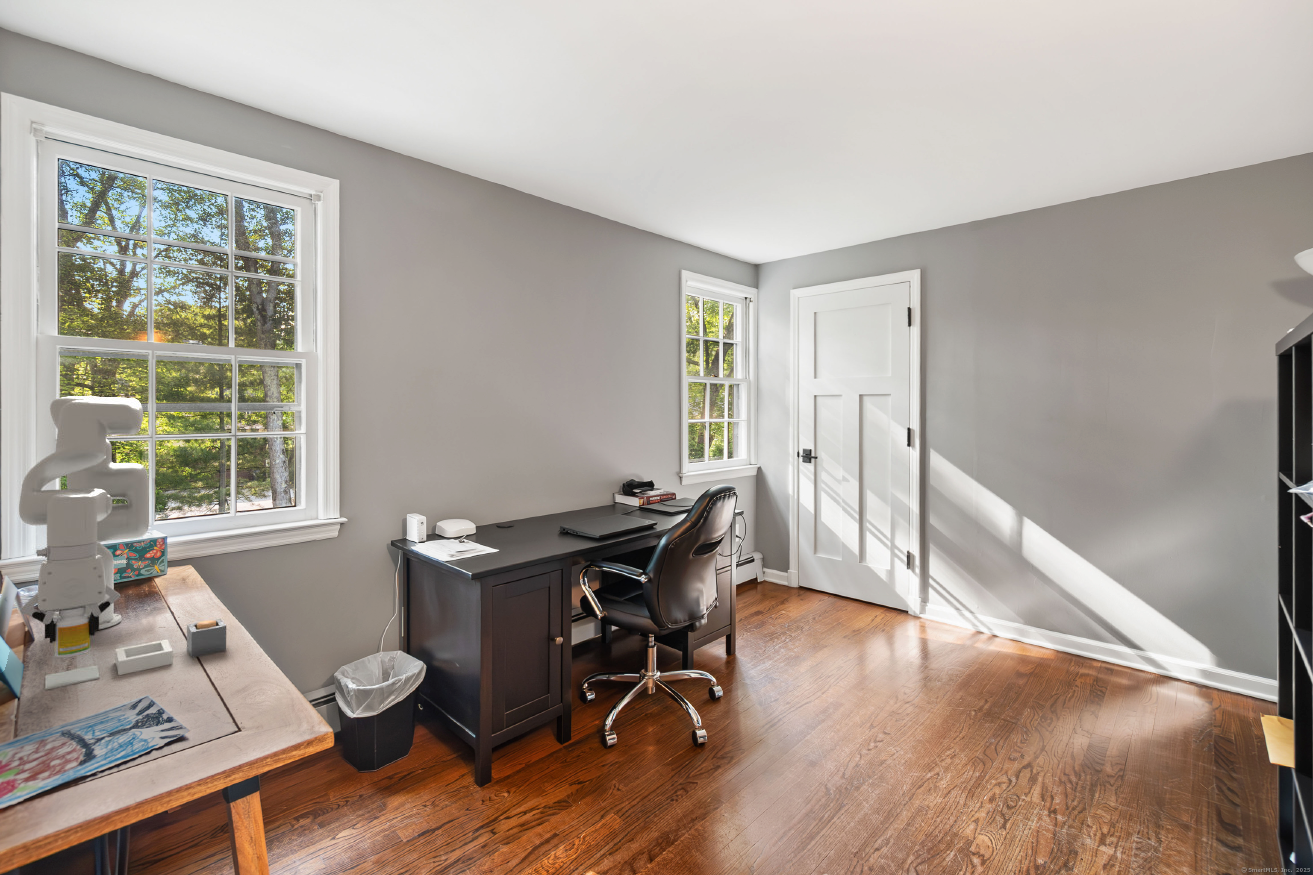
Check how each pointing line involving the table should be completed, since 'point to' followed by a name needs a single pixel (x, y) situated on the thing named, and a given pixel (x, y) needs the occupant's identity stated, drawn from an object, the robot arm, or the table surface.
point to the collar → (143, 656)
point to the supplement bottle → (72, 632)
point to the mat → (71, 677)
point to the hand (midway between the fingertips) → (72, 636)
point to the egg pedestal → (206, 639)
